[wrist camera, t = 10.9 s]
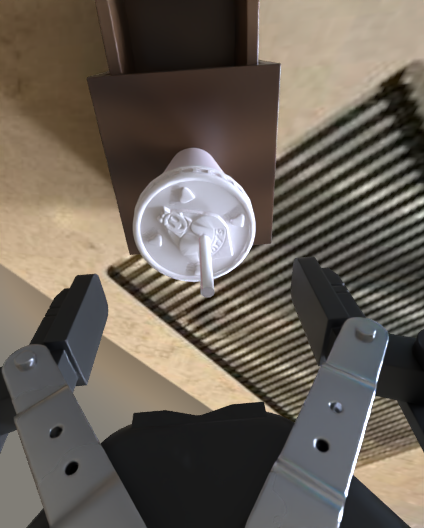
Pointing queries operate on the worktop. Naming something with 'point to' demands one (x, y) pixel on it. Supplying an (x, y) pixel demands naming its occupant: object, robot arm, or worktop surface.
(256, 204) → the cabinet
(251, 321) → the worktop surface
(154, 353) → the worktop surface
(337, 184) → the worktop surface
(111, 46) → the drawer
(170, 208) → the smoothie
